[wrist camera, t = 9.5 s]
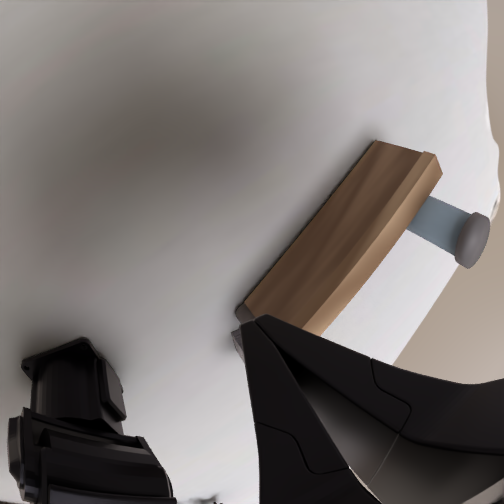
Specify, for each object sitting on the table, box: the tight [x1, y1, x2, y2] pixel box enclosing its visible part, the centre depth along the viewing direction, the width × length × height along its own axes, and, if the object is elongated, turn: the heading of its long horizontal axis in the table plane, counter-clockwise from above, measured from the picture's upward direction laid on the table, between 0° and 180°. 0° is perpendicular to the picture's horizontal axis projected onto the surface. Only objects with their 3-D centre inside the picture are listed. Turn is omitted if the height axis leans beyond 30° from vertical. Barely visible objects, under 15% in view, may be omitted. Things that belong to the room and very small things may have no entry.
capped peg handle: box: [406, 196, 490, 269], centre depth 20 cm, size 4×4×11 cm
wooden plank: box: [236, 140, 443, 336], centre depth 21 cm, size 2×18×6 cm, turn 136°
